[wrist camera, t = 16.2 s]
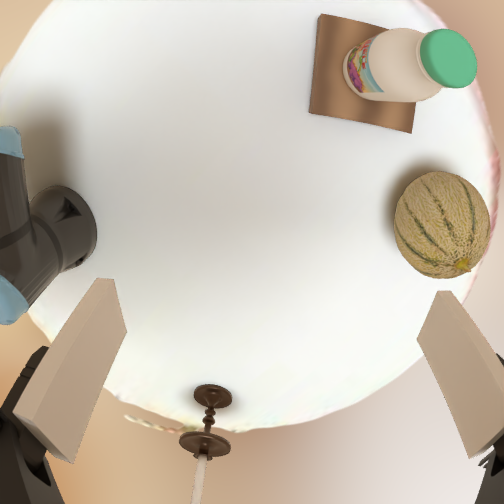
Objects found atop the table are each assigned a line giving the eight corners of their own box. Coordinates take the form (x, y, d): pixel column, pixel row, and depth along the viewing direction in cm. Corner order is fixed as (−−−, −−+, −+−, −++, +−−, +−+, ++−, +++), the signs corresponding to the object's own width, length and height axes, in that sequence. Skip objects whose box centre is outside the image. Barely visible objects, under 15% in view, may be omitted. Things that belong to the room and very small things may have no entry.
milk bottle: (403, 60, 30) (500, 46, 12) (387, 109, 34) (479, 128, 16) (350, 35, 29) (421, -11, 12) (333, 86, 33) (396, 76, 15)
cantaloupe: (438, 145, 38) (498, 170, 24) (466, 219, 43) (516, 262, 30) (363, 193, 42) (402, 236, 29) (400, 263, 48) (436, 320, 34)
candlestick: (212, 411, 70) (193, 536, 39) (181, 390, 66) (150, 523, 35) (245, 399, 66) (233, 537, 36) (213, 376, 63) (188, 527, 32)
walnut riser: (309, 112, 37) (312, 113, 35) (317, 19, 31) (321, 13, 28) (402, 131, 37) (411, 133, 35) (412, 43, 31) (421, 40, 28)
